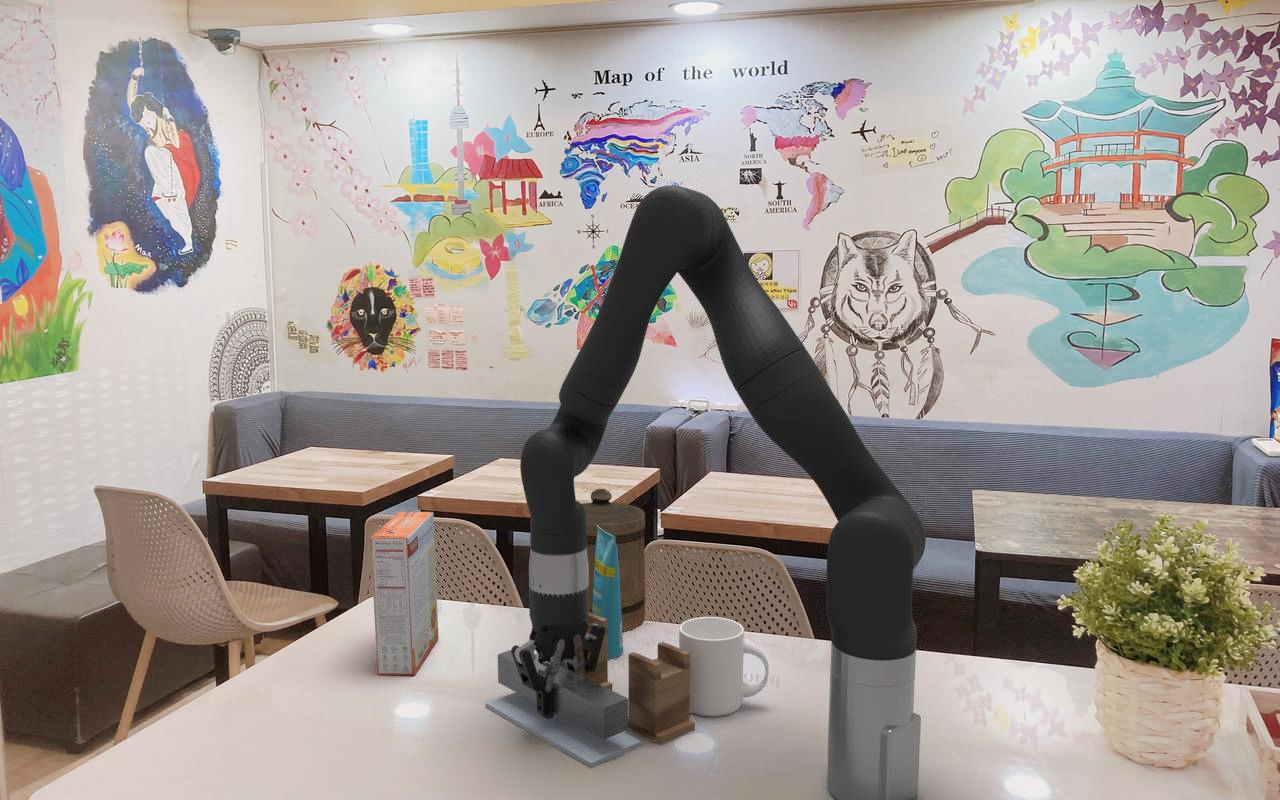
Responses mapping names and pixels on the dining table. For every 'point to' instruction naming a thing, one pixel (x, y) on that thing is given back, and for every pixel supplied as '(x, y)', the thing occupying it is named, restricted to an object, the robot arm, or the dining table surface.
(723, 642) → the mug
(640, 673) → the post
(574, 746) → the mat
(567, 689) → the rail
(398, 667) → the cracker box
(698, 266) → the robot arm
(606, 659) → the post
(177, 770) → the dining table surface
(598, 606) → the tube
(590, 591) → the wooden container
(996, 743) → the dining table surface
